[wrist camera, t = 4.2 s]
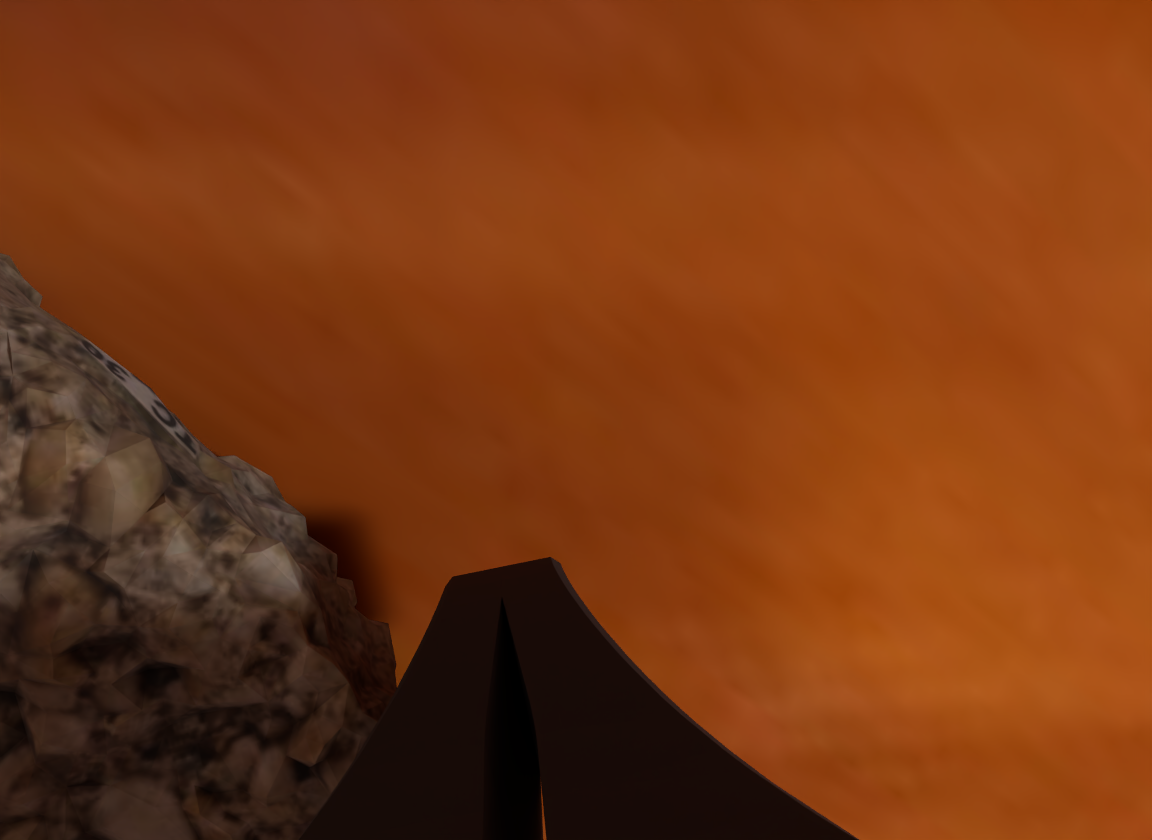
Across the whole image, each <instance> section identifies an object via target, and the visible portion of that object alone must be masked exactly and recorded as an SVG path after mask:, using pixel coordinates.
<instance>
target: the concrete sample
mask: <svg viewBox="0 0 1152 840" xmlns="http://www.w3.org/2000/svg"><path fill="white" fill-rule="evenodd" d="M41 300H42V296H41V295H40V294H39V293H38V292H37V291H36V290H35V289H34V288H33V287H32V286H31V285H30V284H29V283H28V282H27V281H26V280H24V279H23V277H22V275H21V274H20V272H19V271H18V269H17V267H16V266H15V264H14V263H13V261H12V259H11V258H10V256H8V255H5V254H1V253H0V840H298V839H299V837H300V836H301V835H302V833H303V832H304V830H305V829H306V828H307V826H308V825H309V824H310V822H311V821H312V820H313V818H314V817H315V816H316V814H317V813H318V811H319V810H320V809H321V807H322V806H323V805H324V803H325V802H326V800H327V799H328V798H329V796H330V795H331V793H332V792H333V790H334V789H335V788H336V786H337V785H338V783H339V782H340V780H341V779H342V777H343V776H344V774H345V773H346V771H347V770H348V768H349V767H350V765H351V764H352V762H353V761H354V759H355V758H356V756H357V754H358V753H359V751H360V749H361V748H362V746H363V745H364V743H365V741H366V740H367V738H368V736H369V735H370V733H371V731H372V730H373V728H374V727H375V725H376V723H377V722H378V720H379V718H380V717H381V715H382V713H383V712H384V710H385V709H386V707H387V705H388V703H389V702H390V700H391V698H392V696H393V695H394V693H395V691H396V689H397V686H396V677H395V669H396V661H395V656H394V651H393V645H392V640H391V635H390V630H389V625H388V623H384V622H379V621H374V620H369V619H368V618H366V617H365V616H364V615H363V614H361V613H360V612H359V611H358V610H357V609H355V608H354V607H355V605H356V603H357V598H356V594H355V589H354V585H353V581H352V580H348V579H344V578H339V577H337V561H338V558H337V554H335V553H334V552H332V551H331V550H329V549H328V548H326V547H325V546H323V545H322V544H320V543H319V542H317V541H316V540H314V539H313V538H311V537H310V536H308V534H307V526H306V518H305V516H303V515H302V514H301V513H300V512H299V511H297V510H296V509H295V508H294V507H293V506H291V505H289V504H287V503H286V502H285V500H284V498H283V497H282V495H281V493H280V491H279V489H278V488H277V486H276V484H275V482H274V480H273V478H272V477H271V476H269V475H267V474H266V473H264V472H262V471H260V470H259V469H257V468H255V467H253V466H251V465H250V464H248V463H246V462H245V461H243V460H241V459H240V458H238V457H236V456H235V455H234V456H222V457H216V456H215V455H214V454H213V453H212V452H211V451H210V450H209V449H208V448H206V447H205V446H204V445H203V444H202V443H201V442H200V441H199V440H198V439H196V438H195V437H194V436H193V435H192V434H191V433H190V431H189V430H188V429H187V428H186V427H185V426H184V424H183V423H182V422H181V421H180V420H179V419H178V417H177V416H176V415H175V414H174V413H172V412H171V411H169V410H168V409H167V408H166V407H165V405H164V404H163V403H162V402H161V401H160V399H159V398H158V397H157V396H156V394H155V393H154V392H153V391H152V389H151V388H150V387H148V386H147V385H146V384H144V383H143V382H142V381H141V380H139V379H138V378H137V377H135V376H134V375H133V374H132V373H130V372H129V371H128V370H126V369H125V368H124V367H123V366H121V365H120V364H119V363H117V362H116V361H115V360H114V359H112V358H111V357H110V356H108V355H107V354H106V353H105V352H103V351H102V350H101V349H99V348H98V347H97V346H96V345H94V344H93V343H92V342H90V341H89V340H88V339H86V338H85V337H84V336H82V335H81V334H79V333H78V332H77V331H75V330H74V329H72V328H71V327H69V326H68V325H66V324H64V323H63V322H61V321H60V320H58V319H57V318H55V317H54V316H52V315H51V314H49V313H48V312H46V311H45V310H43V309H42V308H40V303H41Z"/></svg>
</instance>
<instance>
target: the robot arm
mask: <svg viewBox="0 0 1152 840" xmlns="http://www.w3.org/2000/svg"><path fill="white" fill-rule="evenodd" d="M540 776H541V777H540ZM541 786H542V796H543V806H544V817H545V828H546V839H547V840H859V839H857V838H856V837H854V836H853V835H851V834H850V833H848V832H847V831H845V830H844V829H842V828H841V827H839V826H838V825H836V824H834V823H833V822H831V821H830V820H828V819H827V818H825V817H824V816H822V815H821V814H819V813H818V812H816V811H815V810H813V809H812V808H810V807H809V806H807V805H806V804H804V803H803V802H801V801H800V800H798V799H797V798H795V797H793V796H792V795H790V794H789V793H787V792H786V791H784V790H783V789H781V788H780V787H778V786H777V785H775V784H774V783H772V782H771V781H770V780H768V779H767V778H765V777H764V776H763V775H762V774H760V773H759V772H758V771H756V770H755V769H754V768H752V767H751V766H750V765H748V764H747V763H746V762H744V761H743V760H742V759H740V758H739V757H738V756H736V755H735V754H734V753H733V752H731V751H730V750H729V749H727V748H726V747H725V746H724V745H722V744H721V743H720V742H719V741H718V740H716V739H715V738H714V737H713V736H712V735H710V734H709V733H708V732H707V731H705V730H704V729H703V728H702V727H701V726H699V725H698V724H697V723H696V722H695V721H694V720H693V719H691V718H690V717H689V716H688V715H687V714H686V713H685V712H684V711H682V710H681V709H680V708H679V707H678V706H677V705H676V704H675V703H674V702H673V701H672V700H671V699H669V698H668V697H667V696H666V695H665V694H664V693H663V692H662V691H661V690H660V689H659V688H658V687H657V686H656V685H655V684H654V683H653V682H652V681H651V680H650V679H649V678H648V677H647V676H646V675H645V674H644V673H643V672H642V671H641V670H640V669H639V668H638V667H637V666H636V665H635V664H634V662H633V661H632V660H631V659H630V658H629V657H628V656H627V655H626V654H625V653H624V652H623V650H622V649H621V648H620V647H619V646H618V645H617V643H616V642H615V641H614V640H613V639H612V638H611V637H610V635H609V634H608V633H607V632H606V631H605V630H604V628H603V627H602V626H601V625H600V624H599V622H598V621H597V620H596V619H595V617H594V616H593V615H592V614H591V612H590V611H589V609H588V608H587V607H586V605H585V604H584V603H583V601H582V600H581V598H580V597H579V596H578V594H577V593H576V591H575V590H574V588H573V587H572V585H571V583H570V582H569V580H568V578H567V576H566V575H565V573H564V571H563V569H562V566H561V564H560V563H559V562H557V561H556V560H554V559H553V558H551V557H548V558H543V559H538V560H533V561H528V562H523V563H518V564H513V565H508V566H503V567H498V568H494V569H489V570H484V571H479V572H474V573H469V574H464V575H459V576H454V577H452V578H451V580H450V581H449V582H448V584H447V585H446V586H445V589H444V591H443V594H442V596H441V599H440V601H439V604H438V606H437V608H436V611H435V613H434V615H433V617H432V620H431V622H430V624H429V626H428V628H427V630H426V633H425V635H424V637H423V639H422V641H421V643H420V645H419V647H418V649H417V651H416V653H415V655H414V657H413V659H412V661H411V663H410V664H409V666H408V668H407V670H406V672H405V674H404V676H403V678H402V680H401V681H400V683H399V685H398V687H397V689H396V691H395V693H394V695H393V696H392V698H391V700H390V702H389V703H388V705H387V707H386V709H385V710H384V712H383V713H382V715H381V717H380V718H379V720H378V722H377V723H376V725H375V727H374V728H373V730H372V731H371V733H370V735H369V736H368V738H367V740H366V741H365V743H364V745H363V746H362V748H361V749H360V751H359V753H358V754H357V756H356V758H355V759H354V761H353V762H352V764H351V765H350V767H349V768H348V770H347V771H346V773H345V774H344V776H343V777H342V779H341V780H340V782H339V783H338V785H337V786H336V788H335V789H334V790H333V792H332V793H331V795H330V796H329V798H328V799H327V800H326V802H325V803H324V805H323V806H322V807H321V809H320V810H319V811H318V813H317V814H316V816H315V817H314V818H313V820H312V821H311V822H310V824H309V825H308V826H307V828H306V829H305V830H304V832H303V833H302V835H301V836H300V837H299V839H298V840H543V826H542V801H541Z"/></svg>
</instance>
